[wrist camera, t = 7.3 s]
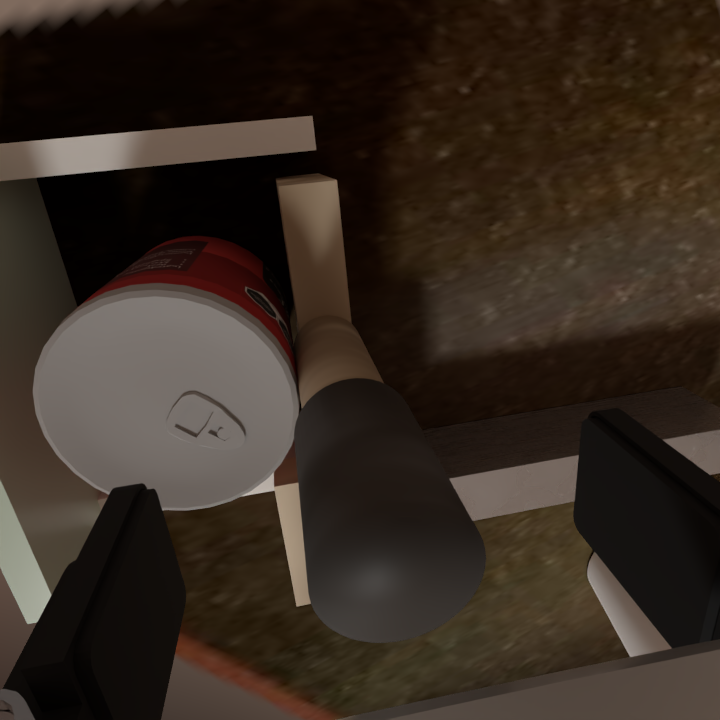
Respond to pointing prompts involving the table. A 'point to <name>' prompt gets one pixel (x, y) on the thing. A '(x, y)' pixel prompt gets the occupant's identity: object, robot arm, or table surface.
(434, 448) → the rail
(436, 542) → the kicker figure
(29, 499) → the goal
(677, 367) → the table surface
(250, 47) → the table surface
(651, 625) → the cup
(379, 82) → the table surface
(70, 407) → the canned food
